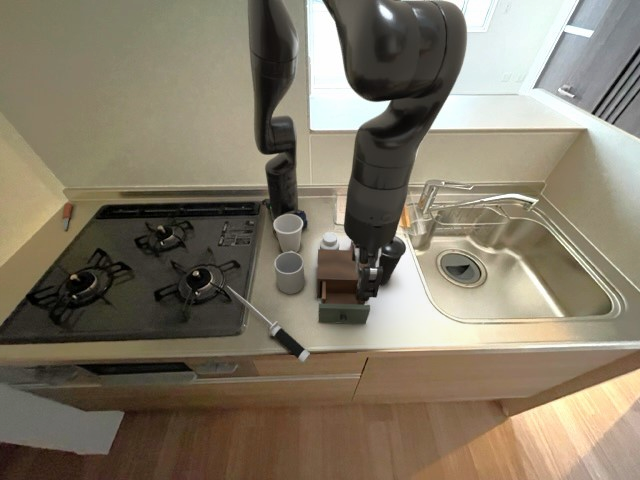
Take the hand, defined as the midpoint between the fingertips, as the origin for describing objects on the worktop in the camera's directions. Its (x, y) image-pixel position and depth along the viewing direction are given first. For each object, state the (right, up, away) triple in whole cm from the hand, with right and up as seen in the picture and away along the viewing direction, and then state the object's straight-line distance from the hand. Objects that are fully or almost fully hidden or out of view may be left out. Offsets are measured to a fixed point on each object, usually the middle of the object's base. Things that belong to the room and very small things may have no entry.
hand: (359, 278), depth 46 cm
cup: (-15, -4, +25) cm, 30 cm away
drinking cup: (+10, -4, +26) cm, 28 cm away
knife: (-20, -13, +16) cm, 29 cm away
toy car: (-18, +13, +38) cm, 44 cm away
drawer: (-2, -10, +18) cm, 21 cm away
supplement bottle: (-4, +1, +31) cm, 31 cm away
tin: (+4, +3, +33) cm, 33 cm away
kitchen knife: (-91, +15, +41) cm, 101 cm away
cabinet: (-1, -5, +25) cm, 25 cm away
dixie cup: (-16, +4, +34) cm, 38 cm away
